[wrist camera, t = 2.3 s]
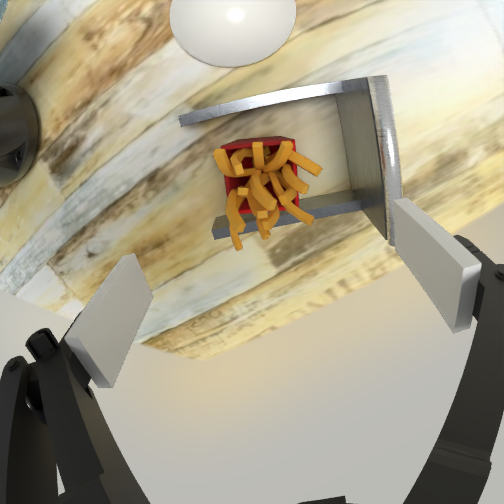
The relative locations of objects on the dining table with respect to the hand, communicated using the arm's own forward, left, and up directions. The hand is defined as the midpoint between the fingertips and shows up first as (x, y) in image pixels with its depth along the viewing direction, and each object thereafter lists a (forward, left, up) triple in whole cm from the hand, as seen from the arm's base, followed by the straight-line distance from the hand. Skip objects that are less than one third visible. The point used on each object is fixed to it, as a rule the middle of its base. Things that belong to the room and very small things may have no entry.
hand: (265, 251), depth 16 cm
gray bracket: (0, 0, -24) cm, 24 cm away
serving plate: (+1, +18, -24) cm, 30 cm away
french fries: (0, -1, -24) cm, 24 cm away
